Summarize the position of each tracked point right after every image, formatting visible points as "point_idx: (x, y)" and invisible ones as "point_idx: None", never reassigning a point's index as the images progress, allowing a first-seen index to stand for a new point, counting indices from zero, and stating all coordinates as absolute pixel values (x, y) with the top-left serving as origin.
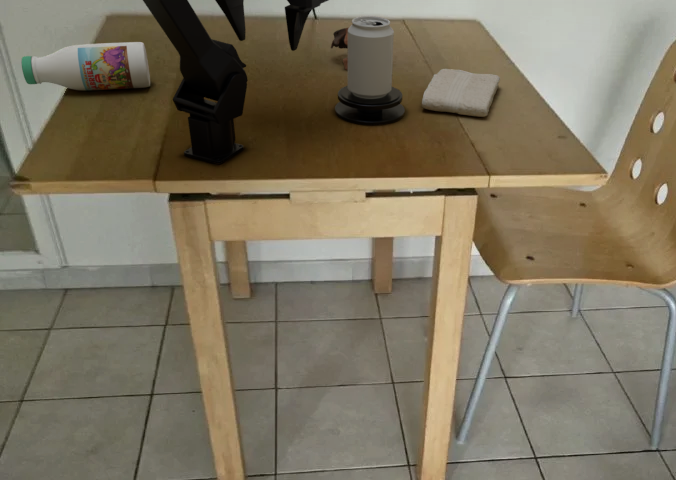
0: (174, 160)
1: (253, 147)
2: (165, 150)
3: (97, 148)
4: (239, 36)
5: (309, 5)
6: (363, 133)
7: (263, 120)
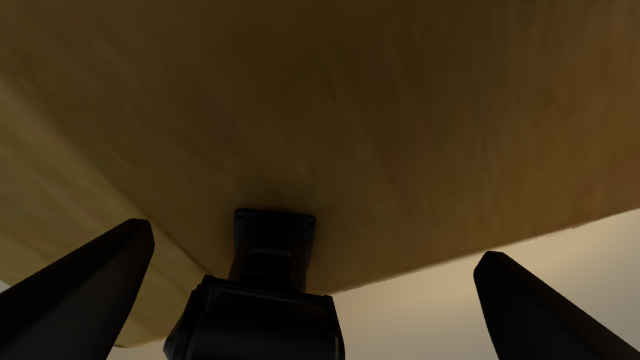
0: None
1: (327, 202)
2: (195, 255)
3: None
4: (140, 278)
5: None
6: (566, 48)
7: (278, 67)
